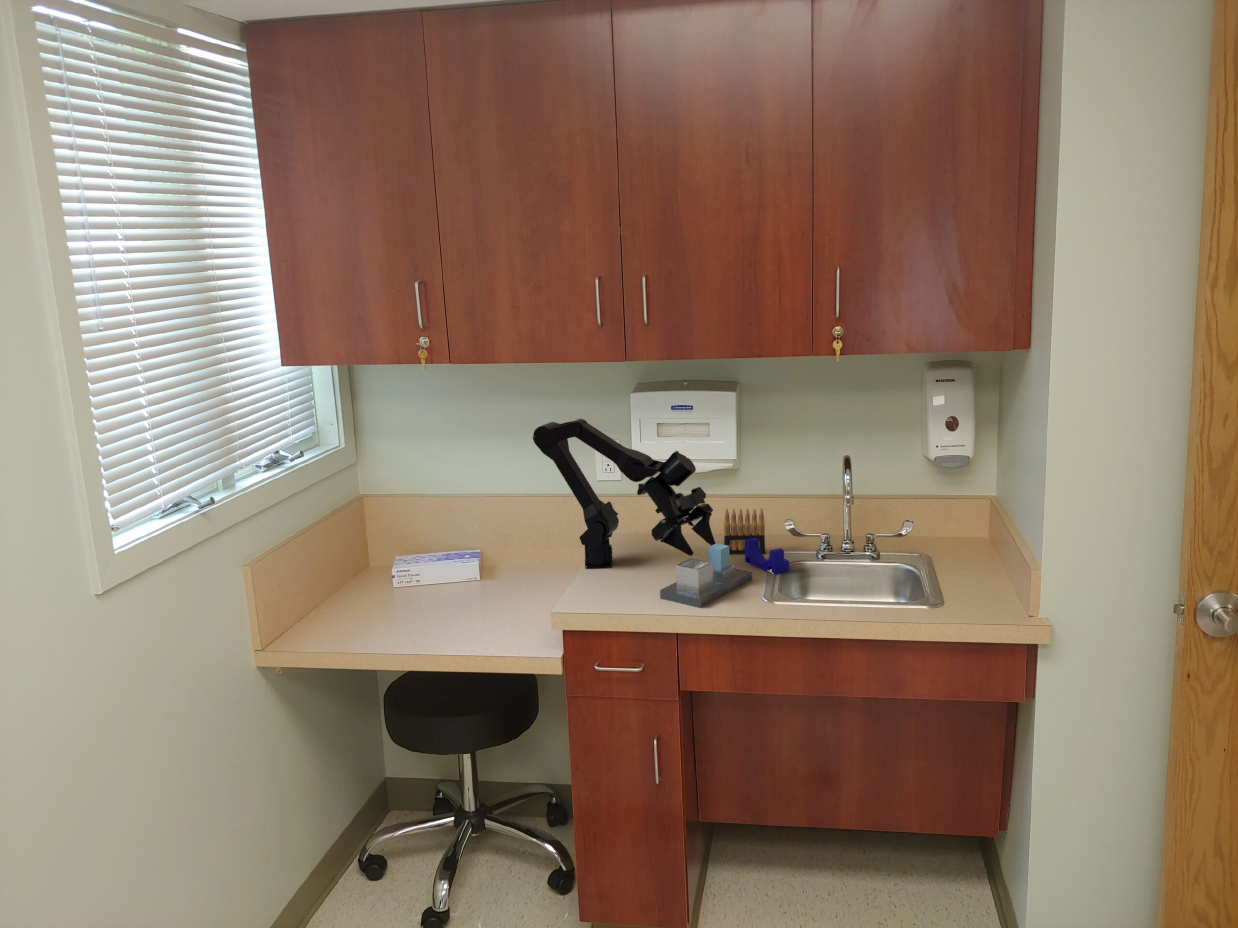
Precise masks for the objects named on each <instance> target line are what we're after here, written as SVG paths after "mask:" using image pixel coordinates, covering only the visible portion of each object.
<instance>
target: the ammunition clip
mask: <svg viewBox="0 0 1238 928" xmlns="http://www.w3.org/2000/svg"><path fill="white" fill-rule="evenodd" d="M736 514H737V513H736V510H735V508H733V509H732V511H731V519H730V512H729V510H728V508H726V509H725V513H724V520H723V521H724V522H723V545H727V546H729V556H731V555H732V556H733V555H734V556H735V555H738V556H739V555H744V556H745V540H746V539H751V538H756V539H758V543H759V548H760V551H761V553H762V555H766V540H765V539H766V536H765V535H766V534H765V533H766V531H765V530H766V529H765V528H766V525H765V519H764V518H765V516H764V510H763V508H762V507H761V508H760V510H759V514H758V515H757V510H756V508H753V510H752V514H751V516H750V510H749V508H746V510H745V514H744V513H743V510H742V508H740V509H739V510H738V516H737V515H736ZM744 515H745V517H744ZM757 516H758V518H757ZM737 517H738V519H737ZM750 517H751V518H750ZM730 520H731V521H730Z"/></svg>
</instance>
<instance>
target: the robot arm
mask: <svg viewBox="0 0 1238 928" xmlns="http://www.w3.org/2000/svg"><path fill="white" fill-rule="evenodd" d="M570 438H576V439H578V441H579V440H580V441H581V442H582V443H584V444H585V445H587V446H588V447H590V448H592V449H593V450H594V451H596V452H598V453H599V454H601V455H602V456H604V457H605V458H607V459H609V460H610V461H611V462H613V464H615V465H616V467H617V468H618V470H619V471H620V473H621V474H623V475H624V476H625V477H626V478H627V479H629V480H630V482H631V481H632V482H633V483H638V482H642V481H644V480H646V479H647V478H648V479H647V480H646V481H645V482H642V483H638V488H637V492H636V494H637V495H638V496H642V495H646V494H647V496H648V497H649V498H650V500H651V501H652V502H653V504H654V505H655V507H657V508H656V509H655V512H656V514H661V515H662V516H663V517H664V518H662V519H661V520H660V521H658V522H657V524H656V525H655V526H654V527H652V528H651V537H652V538H653V540H654V541H655V542H658V541H660V544H661V543H665V544H666V545H668V546H670V547H673V548H674V549H677V550H678V551H680V552H682V553H684V554H686V555H688V556H690V557H691V556H693V555H694V551H693V549H692V547H691V545H690V544H689V543H688V541H687V539H686V538H685V536H684V535H683V533H682V526H684V525H687V524H688V525H689V526H691V527H692V528H691V530H692V531H693V532H694V533H696V534H697V535H698V536H699V537H700V538H701V539H702V540H704V541H705V542H706V543H707V544H709V545H710V546H712V545H714V544H716V541H715V538H714V535H713V532H712V529H711V524H710V521H711V516H712V515H713V513H712V512H713V511H714V509H713V507H711V505H710V503H706V501H705V499H706V498H707V493H706V492H705V491H704V489H702V487H700V486H698V487H695V488H692V489H691V490H690V491H691V493H689V494H687V495H684V494H683V493H682V492H676V491H675V489H674V488H673V486H675V487H679V486H681V485H682V484H683V483H684V482H685V481H686V480H688V479H689V478H690V477H691V476H692V475H693V474H694V473H695V472H696V469H697V468H696V466H695V464H694V462H693V460H691V459H690V458H689V457H687V456H686V455H684V454H683V453H680V452H679V450H675V451H674V452H673V453H672V454H670V455H669V457H668V458H667V459H666V460H665V461H661V460H657V459H653V458H652V457H651V456H649V455H648V454H647V453H646V454H645V453H644V452H642V451H638V450H636V449H633V448H629V447H626V446H623V444H621V443H619V442H617V441H616V440H615V439H614V438H611V437H610V436H608V435H606V434H605V433H604V432H602V431H601V430H599V429H597V428H596V427H595V426H593V425H592V424H590V423H589V422H588V421H587V420H585V419H583V418H578V419H575V420H571V421H567V422H563V423H559V422H555V421H549V422H547V423H544V424H542V425H540V426H538V427H537V428H535V429H534V432H533V435H532V440H533V442H534V444H535V446H537V448H538V449H539V450H540V452H541V453H542V454H543V455H544V456H546V457H548V458H549V459H550V460H552V462H553V463H554V464H555V467H557V469H558V471H559V473H560V475H561V476H562V477H563V479H564V481H565V482H566V484H567V486H568V488H569V489H570V491H571V492H572V494H573V495H574V498H575V499H576V500H577V502H578V504H579V505H580V506H581V509H582V513H583V519H584V523H585V525H586V526H585V527H586V528H587V529H586V530H585V531H584V532H583V533H582V534H581V535H580V536H579V541H580V543H581V545H582V546H584V568H585V567H586V566H587V567H586V568H585V569H599V568H600V569H601V568H611V567H612V564H613V545H612V544H611V543H610V538H612V535H613V534H614V532H615V531H616V530H617V529H618V526H619V521H620V520H619V517H618V515H619V513H618V512H617V511H616V510H615V509H614V507H613V505H612V502H611V501H610V500H609V501H607V502H606V503H604V501H602V500H601V499H599V497H598V496H597V493H596V492H595V491H594V489H593V487H592V485H591V484H590V483H589V481H588V479H587V478H586V476H585V475H584V473H583V471H582V469H581V467H580V466H579V464H578V463H577V461H576V460H575V458H574V456H573V454H572V453H571V450H570V445H569V439H570Z"/></svg>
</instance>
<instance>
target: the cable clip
mask: <svg viewBox="0 0 1238 928" xmlns="http://www.w3.org/2000/svg"><path fill="white" fill-rule="evenodd" d="M744 562H745V563H746V564H749V565H751V566H753V567H756V568H758V569H760V570H762V571H764V572H766V571H767V570H770V569H772V572H773V573H774V574H776V575H779V574H784V573H785V574H786V573H788V572H790V560H789V559H786V558H785V549H784V548H781V547H780V548H774V549H770V550H769V557H768V558H766V557H765V556H764V554H762V553H761V551H760V548H759V543H758V539H756V538H751V539H746V540H745V554H744Z"/></svg>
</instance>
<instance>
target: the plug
mask: <svg viewBox="0 0 1238 928" xmlns="http://www.w3.org/2000/svg"><path fill="white" fill-rule="evenodd" d="M707 562H712V563H713V570H718V571H723V570H725V569H727V568H729V567H730V555H729V546H727V545H724V544H723V543H716V542H715V544H714V545H712V546H711V545H710V546H708V547H707Z"/></svg>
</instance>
